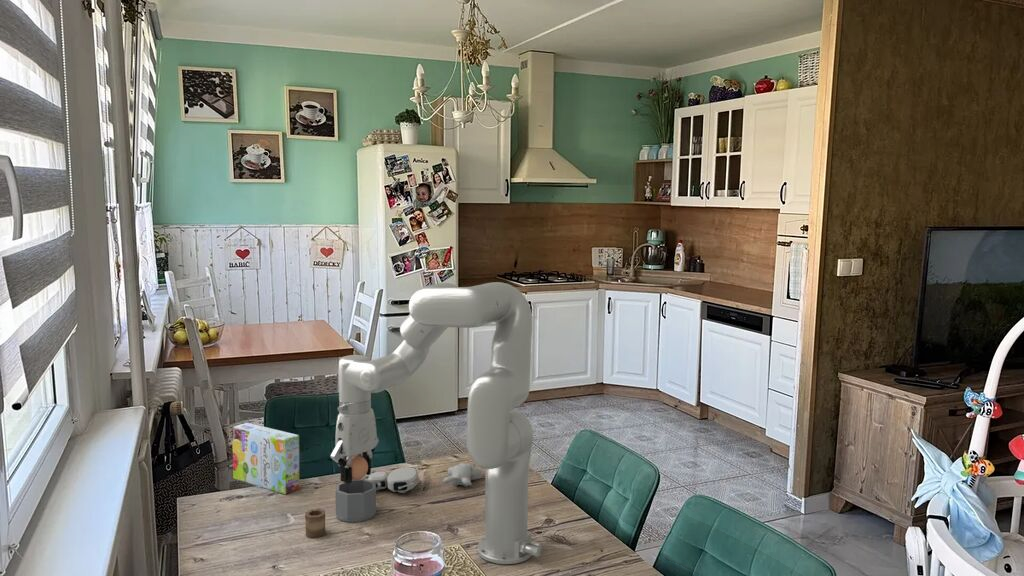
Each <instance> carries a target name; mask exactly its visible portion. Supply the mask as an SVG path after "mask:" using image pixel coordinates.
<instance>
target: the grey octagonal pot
mask: <svg viewBox="0 0 1024 576" xmlns="http://www.w3.org/2000/svg"><path fill="white" fill-rule="evenodd" d="M376 514H377V491H376V483H375V482H373V481H369V480H366V479H364V478H362V479H360V480H355V481H354V480H352V482H351V483H350V484H349V483H345V482H342V481H341V482H340V483H338V484H335V517H336V519H337V520H339V521H341V522H344V523H361V522H366V521H368V520H371V519H373V518H374V517H375V516H376Z"/></svg>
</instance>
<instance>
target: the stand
mask: <svg viewBox="0 0 1024 576" xmlns="http://www.w3.org/2000/svg"><path fill="white" fill-rule="evenodd" d="M304 514H305V515H304V520H305V536H306V537H307V538H310V539H318V538H321V537H323V536H325V534H326V510H324V509H321V508H314V509H309V510H308V511H306V512H305V513H304Z"/></svg>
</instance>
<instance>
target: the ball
mask: <svg viewBox="0 0 1024 576" xmlns="http://www.w3.org/2000/svg"><path fill="white" fill-rule="evenodd" d="M349 467H351V468H352V480H354V481H355V480H360V479H364V478H365V477H366V476H367V475H366V473H367V471H368V463H367V461H366V460H365V459H364V458H363V457H362V455H356V456H353V457H352V458H351V462H350V466H349Z"/></svg>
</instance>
